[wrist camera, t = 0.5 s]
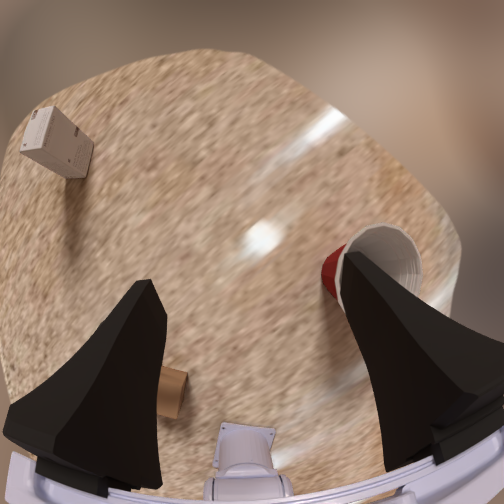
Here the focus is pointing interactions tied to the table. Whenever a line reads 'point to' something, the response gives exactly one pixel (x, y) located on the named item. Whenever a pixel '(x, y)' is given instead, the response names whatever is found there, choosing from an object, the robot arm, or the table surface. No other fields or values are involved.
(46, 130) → the skincare box
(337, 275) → the plastic cup
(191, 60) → the table surface
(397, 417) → the robot arm
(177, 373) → the walnut block
